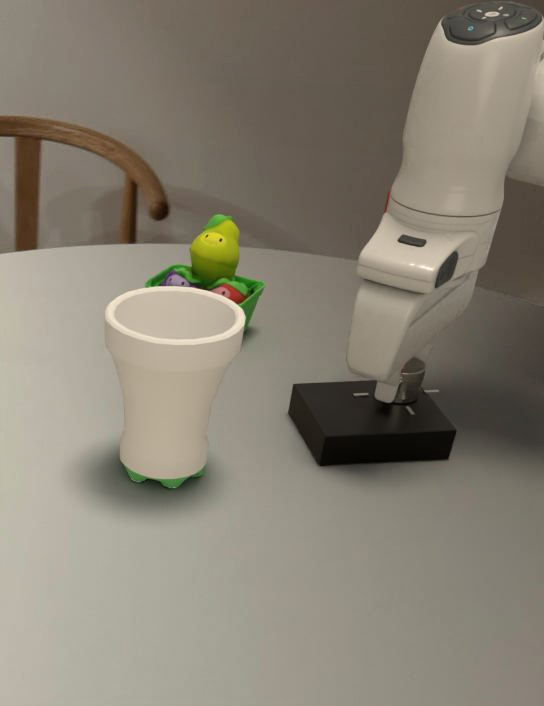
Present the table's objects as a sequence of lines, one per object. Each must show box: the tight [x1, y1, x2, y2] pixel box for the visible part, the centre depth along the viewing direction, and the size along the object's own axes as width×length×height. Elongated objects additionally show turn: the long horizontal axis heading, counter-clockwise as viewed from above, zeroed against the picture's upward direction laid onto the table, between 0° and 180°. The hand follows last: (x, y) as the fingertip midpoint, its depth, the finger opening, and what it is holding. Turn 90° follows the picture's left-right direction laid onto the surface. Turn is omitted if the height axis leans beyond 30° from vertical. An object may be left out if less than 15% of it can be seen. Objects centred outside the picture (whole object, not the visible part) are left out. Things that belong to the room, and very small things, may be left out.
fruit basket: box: [144, 213, 266, 332], centre depth 106 cm, size 11×9×11 cm
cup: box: [104, 286, 246, 488], centre depth 83 cm, size 11×11×14 cm
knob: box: [374, 357, 427, 403], centre depth 91 cm, size 4×4×3 cm
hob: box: [287, 379, 458, 467], centre depth 92 cm, size 13×11×3 cm
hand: (397, 387), depth 92 cm, fingers closed on knob, 4 cm apart
